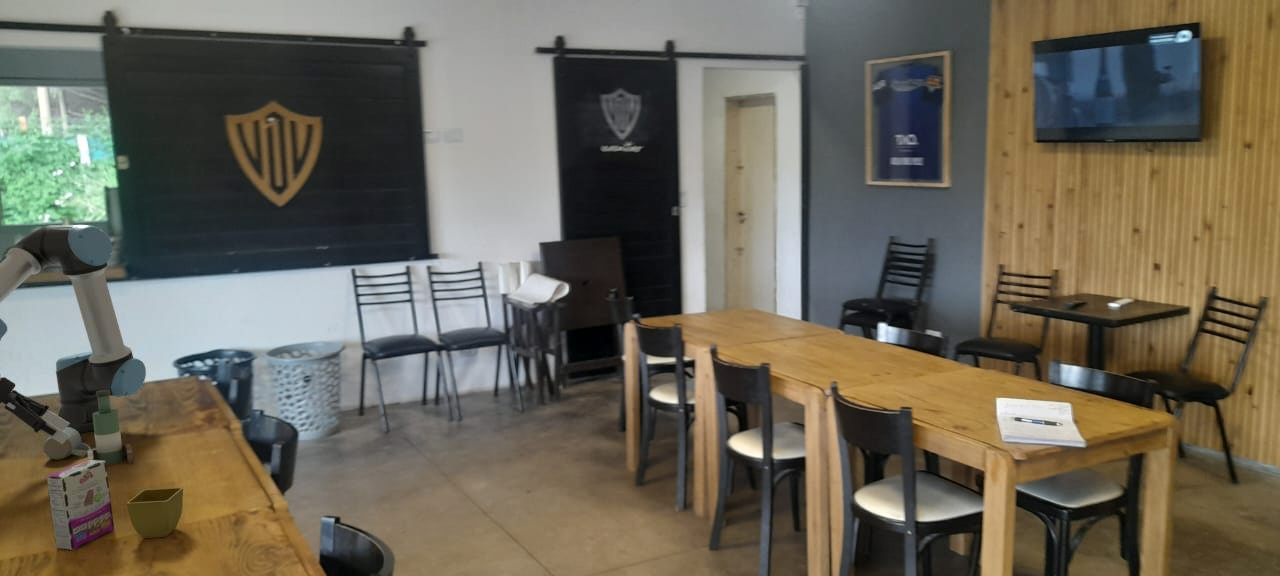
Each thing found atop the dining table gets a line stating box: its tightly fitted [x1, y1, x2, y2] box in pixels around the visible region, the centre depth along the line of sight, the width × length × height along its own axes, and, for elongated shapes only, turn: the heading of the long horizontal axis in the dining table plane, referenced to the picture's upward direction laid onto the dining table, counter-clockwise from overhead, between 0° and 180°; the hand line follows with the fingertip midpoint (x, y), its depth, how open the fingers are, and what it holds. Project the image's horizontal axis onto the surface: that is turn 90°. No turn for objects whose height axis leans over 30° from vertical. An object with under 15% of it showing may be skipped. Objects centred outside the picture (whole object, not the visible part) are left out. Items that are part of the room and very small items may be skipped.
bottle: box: [93, 390, 124, 466], centre depth 253 cm, size 6×6×20 cm
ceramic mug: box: [43, 427, 92, 461], centre depth 260 cm, size 11×8×8 cm
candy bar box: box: [46, 459, 115, 551], centre depth 201 cm, size 11×5×16 cm, turn 164°
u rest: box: [87, 442, 134, 465], centre depth 255 cm, size 10×10×3 cm
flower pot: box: [126, 487, 184, 539], centre depth 204 cm, size 9×9×9 cm
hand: (66, 433), depth 249 cm, fingers open, 13 cm apart
